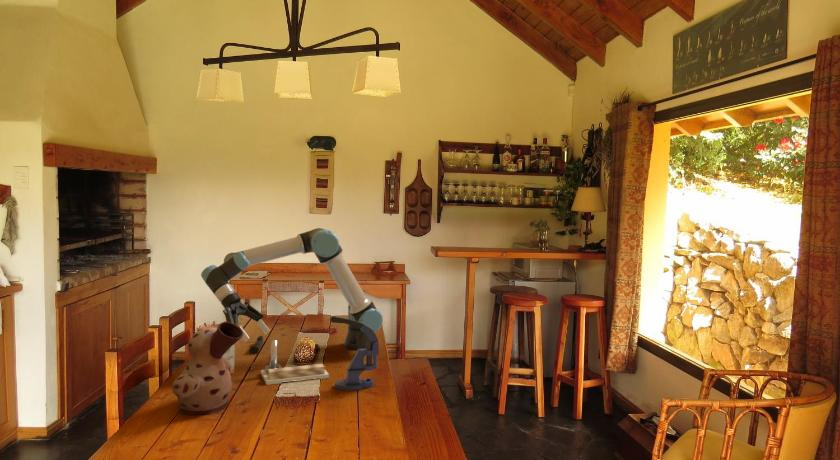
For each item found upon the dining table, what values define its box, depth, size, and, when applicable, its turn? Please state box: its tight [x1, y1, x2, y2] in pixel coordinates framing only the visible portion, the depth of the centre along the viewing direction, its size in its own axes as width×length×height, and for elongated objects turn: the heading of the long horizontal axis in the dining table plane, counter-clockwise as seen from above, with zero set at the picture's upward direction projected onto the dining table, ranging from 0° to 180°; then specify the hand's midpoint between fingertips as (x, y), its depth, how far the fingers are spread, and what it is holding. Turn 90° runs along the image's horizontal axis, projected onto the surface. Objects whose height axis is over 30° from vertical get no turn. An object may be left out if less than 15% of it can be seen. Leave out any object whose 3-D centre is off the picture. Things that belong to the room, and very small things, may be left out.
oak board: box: [268, 363, 326, 380], centre depth 231 cm, size 22×4×3 cm, turn 114°
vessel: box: [171, 321, 243, 415], centre depth 199 cm, size 29×22×30 cm
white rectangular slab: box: [260, 369, 330, 386], centre depth 234 cm, size 25×14×2 cm, turn 114°
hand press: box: [330, 315, 380, 391], centre depth 223 cm, size 19×9×28 cm, turn 103°
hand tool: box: [249, 335, 264, 355], centre depth 273 cm, size 19×4×5 cm, turn 3°
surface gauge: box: [264, 339, 283, 375], centre depth 233 cm, size 6×8×13 cm
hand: (257, 336), depth 236 cm, fingers open, 13 cm apart
